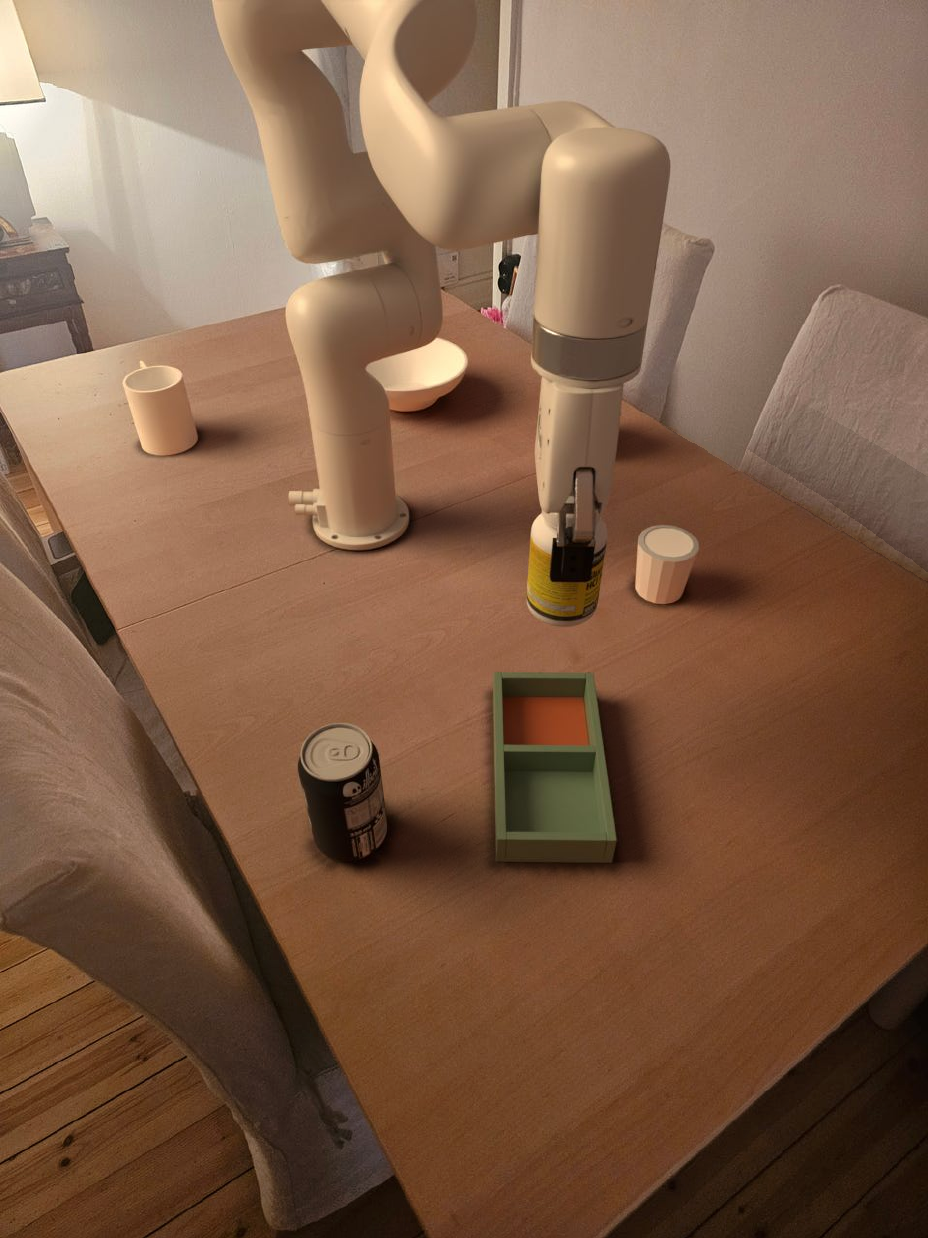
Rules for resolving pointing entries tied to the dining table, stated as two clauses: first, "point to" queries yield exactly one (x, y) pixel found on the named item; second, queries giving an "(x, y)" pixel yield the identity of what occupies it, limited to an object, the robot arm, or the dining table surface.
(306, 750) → the beverage can
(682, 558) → the cream faceted tub
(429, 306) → the robot arm
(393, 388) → the bowl
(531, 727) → the tray
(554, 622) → the pill bottle
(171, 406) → the cup
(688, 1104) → the dining table surface
